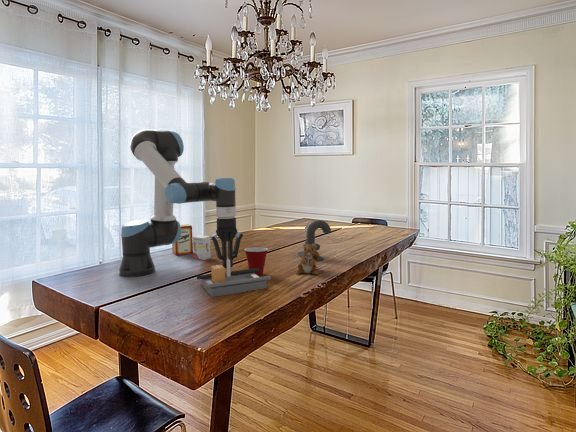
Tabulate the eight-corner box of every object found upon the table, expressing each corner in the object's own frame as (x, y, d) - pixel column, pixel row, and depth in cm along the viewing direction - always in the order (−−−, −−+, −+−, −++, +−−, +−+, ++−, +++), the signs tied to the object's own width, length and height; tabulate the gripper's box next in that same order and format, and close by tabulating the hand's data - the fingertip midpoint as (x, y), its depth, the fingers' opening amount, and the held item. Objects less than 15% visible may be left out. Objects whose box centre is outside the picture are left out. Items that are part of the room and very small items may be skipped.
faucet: (337, 260, 197) (338, 222, 194) (309, 262, 192) (309, 223, 189) (324, 252, 214) (324, 217, 211) (297, 254, 209) (297, 218, 207)
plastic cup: (268, 270, 176) (268, 245, 175) (268, 277, 166) (268, 250, 164) (245, 271, 176) (244, 245, 175) (243, 277, 165) (242, 250, 164)
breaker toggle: (215, 283, 147) (214, 268, 146) (211, 279, 151) (211, 265, 150) (225, 281, 148) (224, 267, 148) (221, 278, 153) (221, 264, 152)
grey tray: (205, 289, 140) (205, 285, 140) (196, 279, 153) (196, 275, 153) (271, 280, 152) (271, 276, 152) (258, 271, 165) (258, 267, 165)
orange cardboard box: (176, 255, 207) (174, 226, 205) (172, 253, 212) (171, 225, 210) (192, 253, 212) (191, 225, 210) (189, 251, 217) (188, 223, 215)
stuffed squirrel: (295, 274, 170) (295, 246, 168) (300, 266, 184) (300, 240, 182) (317, 276, 168) (317, 247, 166) (321, 268, 182) (321, 241, 180)
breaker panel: (211, 297, 141) (211, 288, 140) (201, 285, 155) (201, 277, 155) (266, 288, 150) (266, 280, 150) (252, 278, 165) (251, 271, 164)
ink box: (192, 258, 201) (192, 236, 200) (199, 256, 205) (199, 234, 204) (204, 260, 197) (203, 237, 195) (211, 258, 201) (210, 236, 199)
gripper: (212, 219, 142) (214, 280, 145) (245, 217, 148) (246, 276, 151) (207, 217, 149) (209, 275, 152) (238, 215, 154) (240, 271, 158)
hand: (227, 275), depth 151 cm, fingers closed
